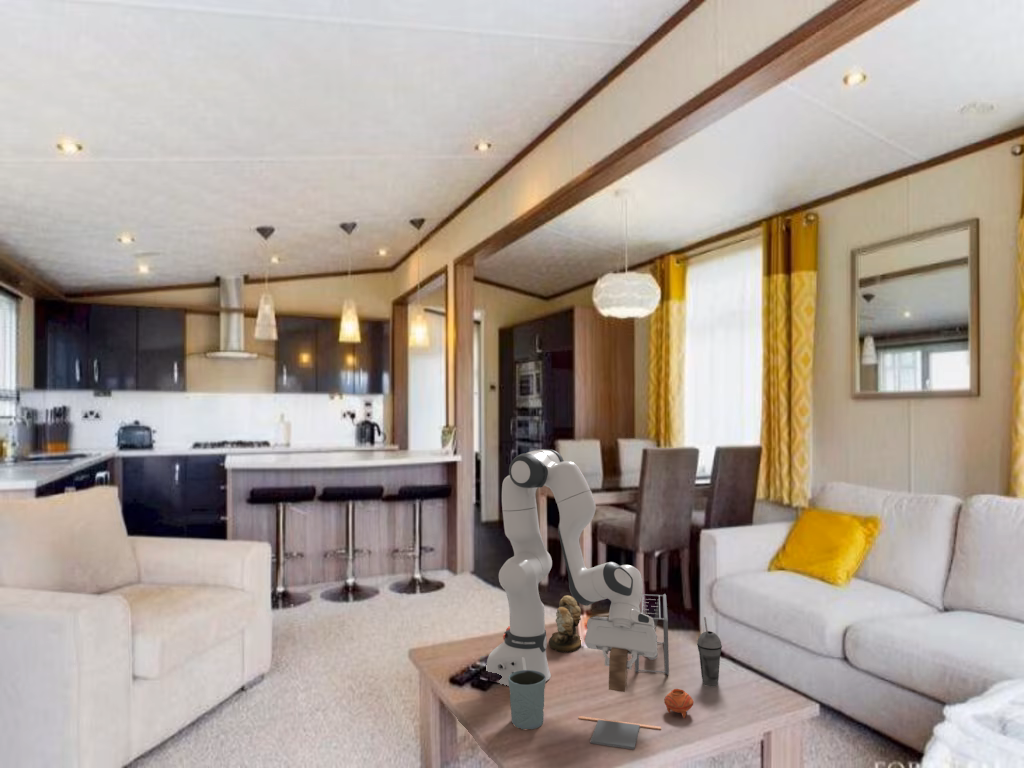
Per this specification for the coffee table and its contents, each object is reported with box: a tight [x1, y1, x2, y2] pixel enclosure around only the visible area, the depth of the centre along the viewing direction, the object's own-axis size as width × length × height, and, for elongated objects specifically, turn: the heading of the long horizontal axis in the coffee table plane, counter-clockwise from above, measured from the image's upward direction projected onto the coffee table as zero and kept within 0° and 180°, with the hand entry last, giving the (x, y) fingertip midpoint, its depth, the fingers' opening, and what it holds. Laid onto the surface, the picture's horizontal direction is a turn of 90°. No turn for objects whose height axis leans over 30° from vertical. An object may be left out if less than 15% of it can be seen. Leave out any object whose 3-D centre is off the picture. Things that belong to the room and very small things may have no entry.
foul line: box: [578, 715, 662, 731], centre depth 177 cm, size 22×1×1 cm, turn 72°
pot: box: [663, 688, 695, 719], centre depth 182 cm, size 8×8×7 cm
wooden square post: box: [608, 648, 629, 693], centre depth 183 cm, size 4×4×10 cm
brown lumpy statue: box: [548, 595, 582, 653], centre depth 236 cm, size 18×12×17 cm, turn 174°
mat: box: [590, 720, 641, 750], centre depth 171 cm, size 11×12×1 cm
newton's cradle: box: [634, 593, 670, 676], centre depth 222 cm, size 30×10×18 cm, turn 168°
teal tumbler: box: [508, 670, 546, 730], centre depth 179 cm, size 10×10×12 cm
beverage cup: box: [697, 616, 723, 688], centre depth 201 cm, size 7×7×20 cm
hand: (618, 666), depth 182 cm, fingers closed on wooden square post, 4 cm apart
